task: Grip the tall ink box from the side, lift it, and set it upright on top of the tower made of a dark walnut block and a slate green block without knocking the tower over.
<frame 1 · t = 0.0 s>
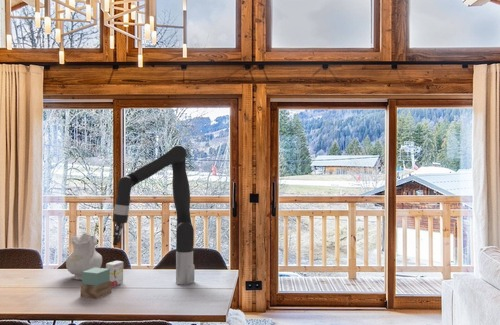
hand: (116, 243, 208), 22 cm above the table, tool pointing down, fingers open, 8 cm apart
ink box: (114, 284, 210), on the table
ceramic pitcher: (85, 277, 224), on the table
walnut block: (96, 294, 193), on the table, touching green block
green block: (96, 282, 194), point 6 cm above the table, touching walnut block
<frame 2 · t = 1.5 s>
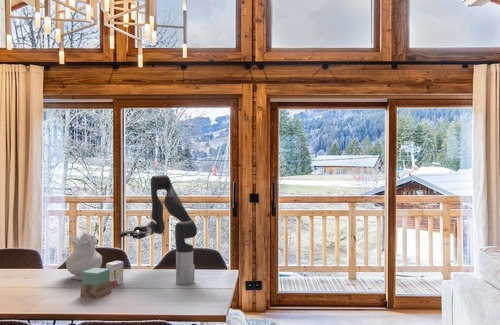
hand: (126, 236, 221), 24 cm above the table, tool horizontal, fingers open, 8 cm apart
nothing on the table moved.
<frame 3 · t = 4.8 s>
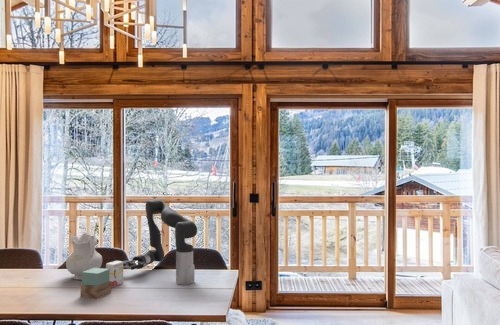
hand: (124, 267, 219), 7 cm above the table, tool horizontal, fingers open, 8 cm apart
nothing on the table moved.
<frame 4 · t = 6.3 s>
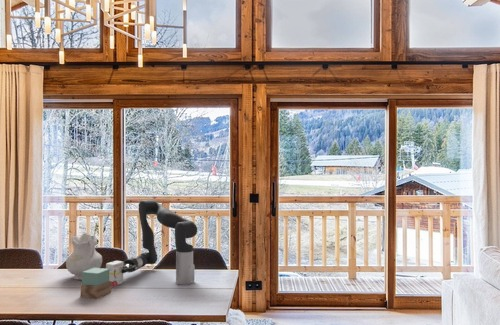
hand: (115, 270, 211), 7 cm above the table, tool horizontal, fingers open, 8 cm apart
nothing on the table moved.
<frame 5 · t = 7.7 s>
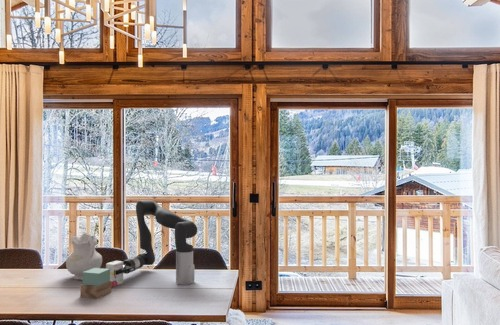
hand: (111, 272, 208), 7 cm above the table, tool horizontal, fingers closed on ink box, 5 cm apart
ink box: (114, 284, 210), on the table, touching gripper
everything else where it was.
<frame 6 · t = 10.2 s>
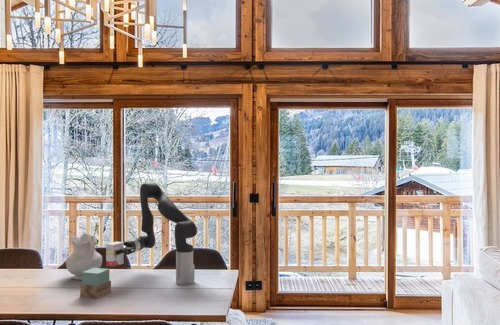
hand: (112, 252, 208), 18 cm above the table, tool horizontal, fingers closed on ink box, 5 cm apart
ink box: (115, 265, 210), point 10 cm above the table, touching gripper
everything else where it was.
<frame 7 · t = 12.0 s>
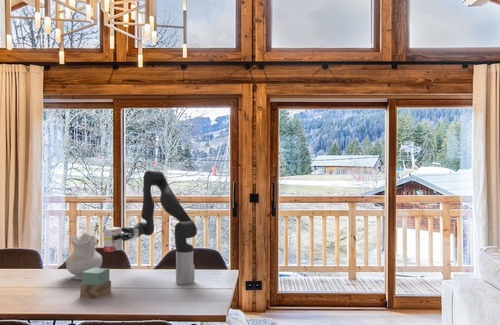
hand: (109, 237, 206), 26 cm above the table, tool horizontal, fingers closed on ink box, 5 cm apart
ink box: (112, 250, 209), point 18 cm above the table, touching gripper
everything else where it was.
when the fingers open (20 cm above the table, at t = 15.3 s): ink box drops 1 cm, resting on green block.
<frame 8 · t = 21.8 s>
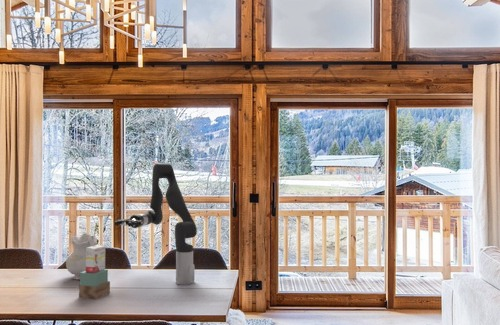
hand: (121, 224, 213), 32 cm above the table, tool horizontal, fingers open, 8 cm apart
ink box: (95, 271, 193), point 12 cm above the table, touching green block
walnut block: (94, 295, 192), on the table, touching green block
green block: (94, 283, 192), point 6 cm above the table, touching ink box, walnut block
everything else where it was.
at the end: ink box 0.9 cm off-centre on the green block, point 5.8 cm above the green block's base; ink box tilted 0°; green block 0.4 cm off-centre on the walnut block, point 6.0 cm above the walnut block's base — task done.
